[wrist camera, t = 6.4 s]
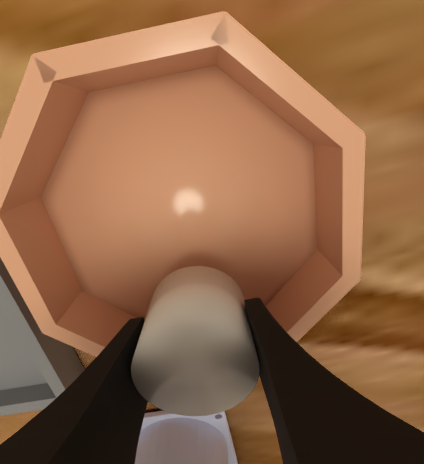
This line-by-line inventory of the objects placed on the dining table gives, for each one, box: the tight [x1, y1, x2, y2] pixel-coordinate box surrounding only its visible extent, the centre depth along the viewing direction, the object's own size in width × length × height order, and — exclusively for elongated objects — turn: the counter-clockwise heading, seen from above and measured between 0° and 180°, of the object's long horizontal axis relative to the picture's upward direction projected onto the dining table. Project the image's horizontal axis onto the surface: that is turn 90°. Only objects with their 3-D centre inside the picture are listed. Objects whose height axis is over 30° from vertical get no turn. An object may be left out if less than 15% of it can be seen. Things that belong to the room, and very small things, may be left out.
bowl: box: [0, 11, 366, 357], centre depth 12 cm, size 15×15×4 cm
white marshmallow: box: [131, 266, 260, 416], centre depth 11 cm, size 4×4×4 cm
